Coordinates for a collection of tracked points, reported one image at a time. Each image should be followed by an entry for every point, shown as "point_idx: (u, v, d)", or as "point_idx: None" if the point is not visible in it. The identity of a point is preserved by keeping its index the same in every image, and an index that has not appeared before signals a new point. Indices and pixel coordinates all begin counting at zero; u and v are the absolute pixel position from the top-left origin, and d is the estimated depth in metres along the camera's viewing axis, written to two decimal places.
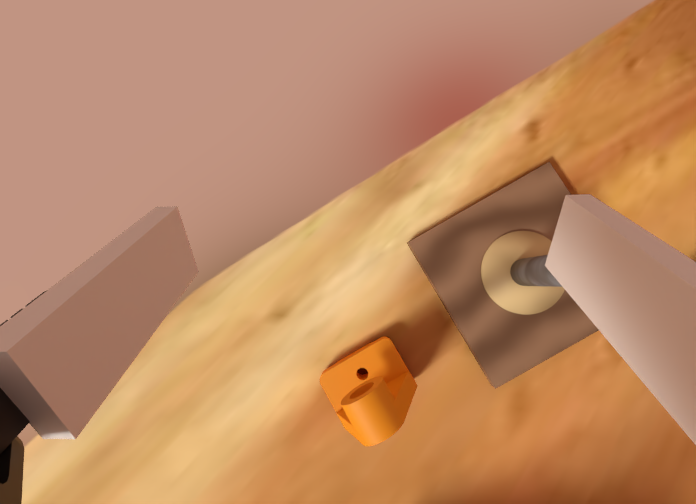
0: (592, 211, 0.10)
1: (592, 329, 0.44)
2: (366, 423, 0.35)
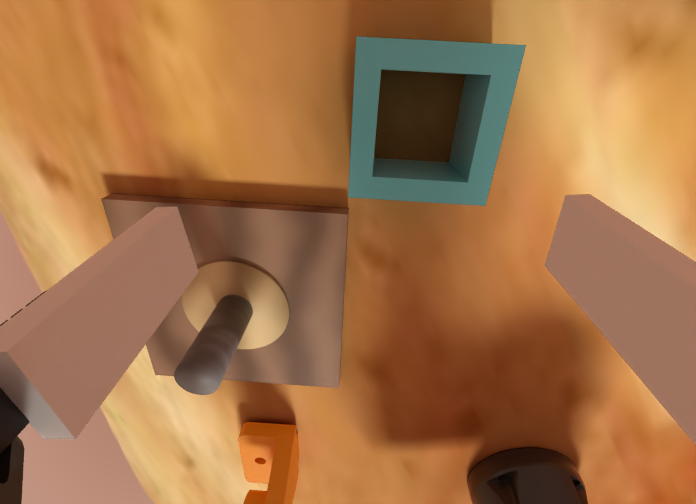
0: (592, 211, 0.10)
1: (339, 284, 0.33)
2: None
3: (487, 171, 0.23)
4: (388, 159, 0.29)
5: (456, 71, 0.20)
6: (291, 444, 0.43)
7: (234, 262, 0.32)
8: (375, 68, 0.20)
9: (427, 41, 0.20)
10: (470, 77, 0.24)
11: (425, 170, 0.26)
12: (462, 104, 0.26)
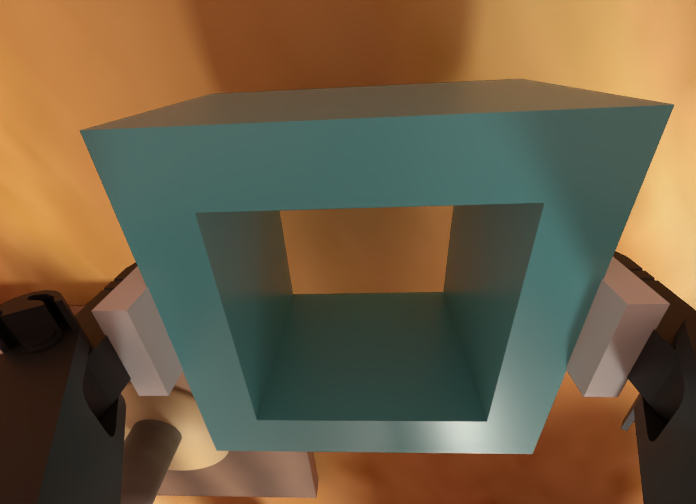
0: None
1: None
2: None
3: (536, 401, 0.09)
4: (324, 298, 0.15)
5: (429, 201, 0.06)
6: None
7: None
8: (176, 213, 0.07)
9: (317, 124, 0.06)
10: None
11: (391, 350, 0.12)
12: None
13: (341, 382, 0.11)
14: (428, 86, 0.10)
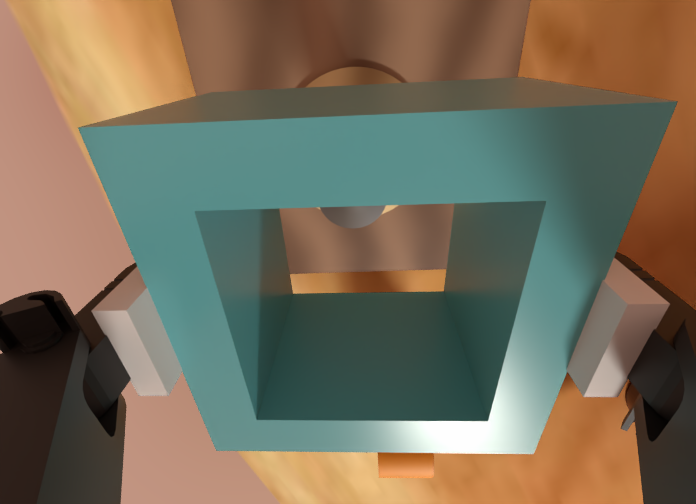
0: None
1: None
2: (406, 477, 0.30)
3: (537, 401, 0.09)
4: (324, 297, 0.15)
5: (430, 199, 0.06)
6: None
7: (357, 67, 0.22)
8: (176, 211, 0.07)
9: (317, 121, 0.06)
10: None
11: (391, 349, 0.12)
12: None
13: (341, 382, 0.11)
14: (429, 84, 0.10)
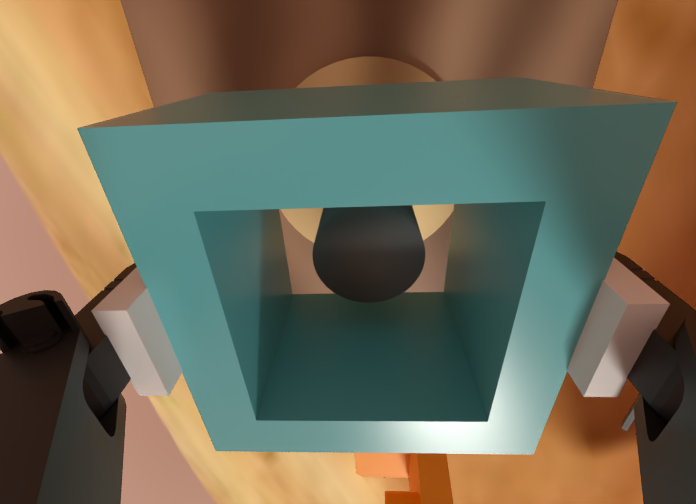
0: None
1: None
2: None
3: (537, 402, 0.09)
4: (324, 298, 0.15)
5: (430, 199, 0.06)
6: None
7: (373, 56, 0.16)
8: (175, 211, 0.07)
9: (317, 122, 0.06)
10: None
11: (391, 350, 0.12)
12: None
13: (341, 382, 0.11)
14: (428, 84, 0.10)
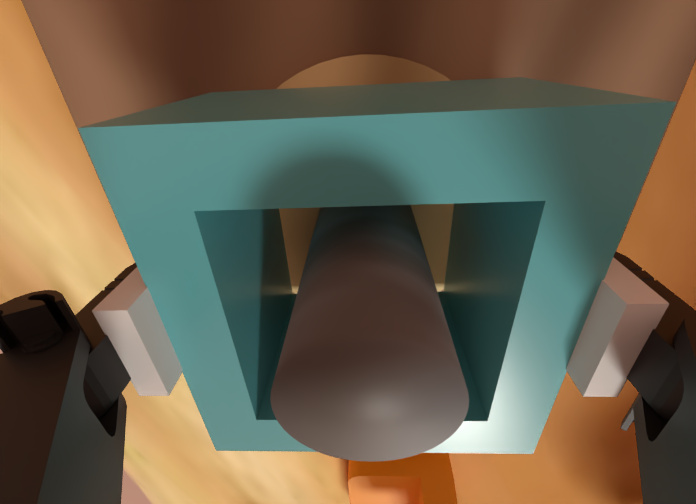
0: None
1: (666, 99, 0.12)
2: None
3: (536, 401, 0.09)
4: None
5: (430, 199, 0.06)
6: (453, 489, 0.23)
7: (374, 55, 0.11)
8: (175, 211, 0.07)
9: (316, 121, 0.06)
10: None
11: None
12: None
13: None
14: (428, 84, 0.10)
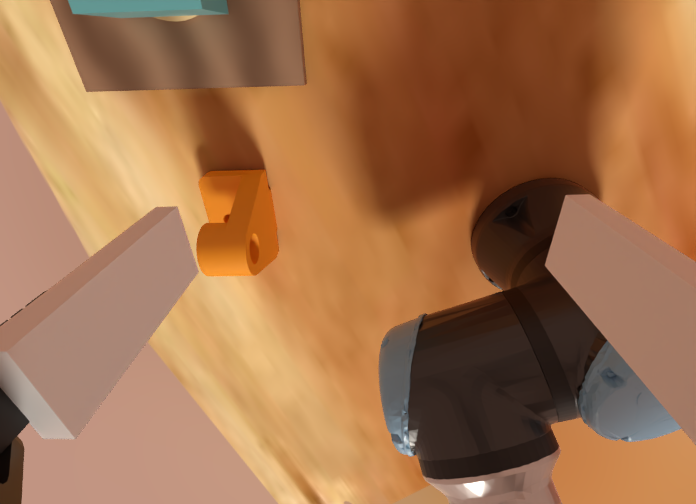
0: (592, 212, 0.10)
1: None
2: (226, 270, 0.33)
3: None
4: None
5: None
6: (259, 179, 0.37)
7: None
8: None
9: None
10: None
11: None
12: None
13: None
14: None
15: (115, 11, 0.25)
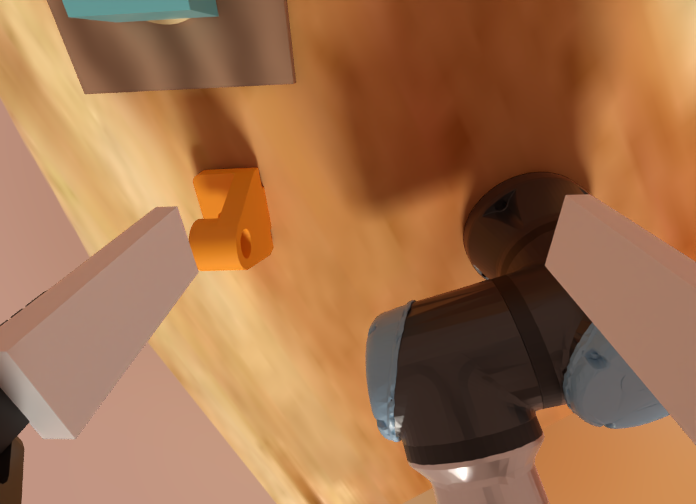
0: (592, 211, 0.10)
1: None
2: (217, 264, 0.33)
3: None
4: None
5: None
6: (251, 176, 0.38)
7: None
8: None
9: None
10: None
11: None
12: None
13: None
14: None
15: (108, 14, 0.26)
